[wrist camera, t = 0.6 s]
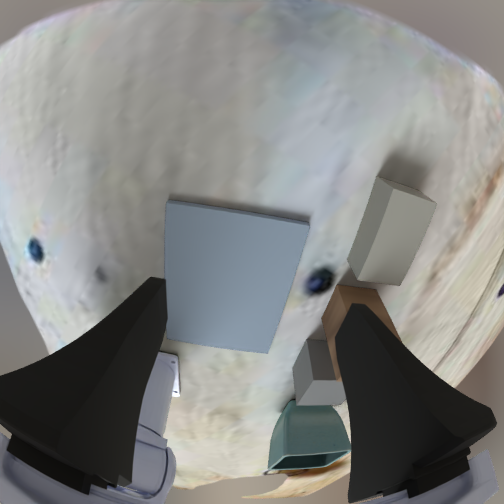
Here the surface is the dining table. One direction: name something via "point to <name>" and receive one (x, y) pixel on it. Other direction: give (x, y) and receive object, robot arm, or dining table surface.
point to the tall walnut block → (339, 309)
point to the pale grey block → (390, 232)
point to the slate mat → (228, 274)
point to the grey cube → (316, 376)
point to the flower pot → (307, 438)
